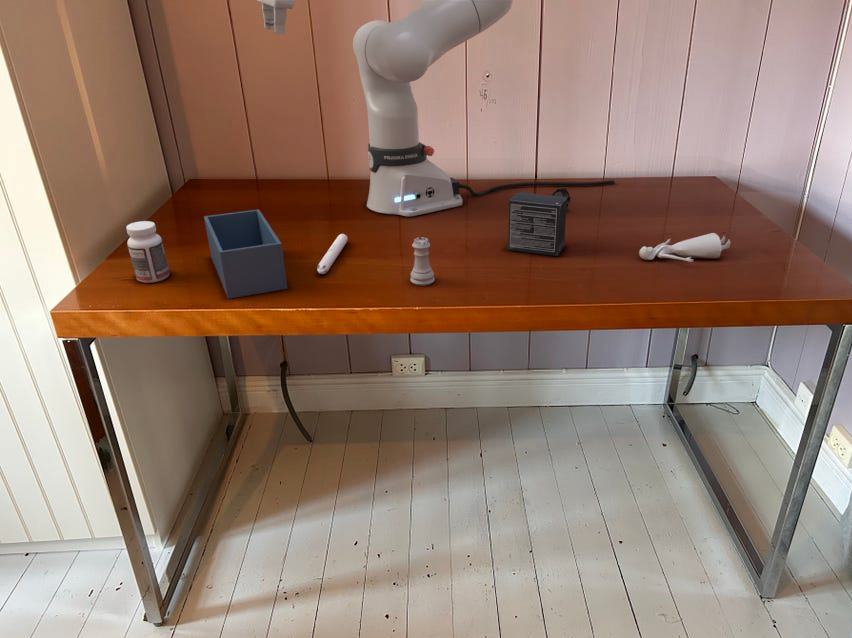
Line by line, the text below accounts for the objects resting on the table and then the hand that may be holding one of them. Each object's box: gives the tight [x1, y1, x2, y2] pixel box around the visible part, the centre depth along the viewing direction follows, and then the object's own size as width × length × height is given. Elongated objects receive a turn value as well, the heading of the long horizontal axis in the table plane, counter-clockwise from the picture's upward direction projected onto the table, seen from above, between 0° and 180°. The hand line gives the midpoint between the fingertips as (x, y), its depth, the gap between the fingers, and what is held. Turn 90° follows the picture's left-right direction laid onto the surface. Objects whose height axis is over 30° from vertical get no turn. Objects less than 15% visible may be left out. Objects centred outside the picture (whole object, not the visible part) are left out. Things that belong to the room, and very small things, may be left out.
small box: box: [506, 191, 568, 257], centre depth 143 cm, size 11×6×10 cm, turn 71°
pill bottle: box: [126, 220, 170, 284], centre depth 129 cm, size 6×6×10 cm
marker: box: [316, 233, 349, 275], centre depth 139 cm, size 18×2×2 cm, turn 176°
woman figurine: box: [638, 232, 731, 263], centre depth 141 cm, size 12×4×18 cm
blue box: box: [203, 209, 288, 299], centre depth 132 cm, size 10×20×8 cm, turn 25°
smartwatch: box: [551, 187, 571, 208], centre depth 166 cm, size 4×5×5 cm
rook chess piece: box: [409, 236, 435, 287], centre depth 129 cm, size 4×4×8 cm
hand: (274, 31), depth 140 cm, fingers open, 8 cm apart
